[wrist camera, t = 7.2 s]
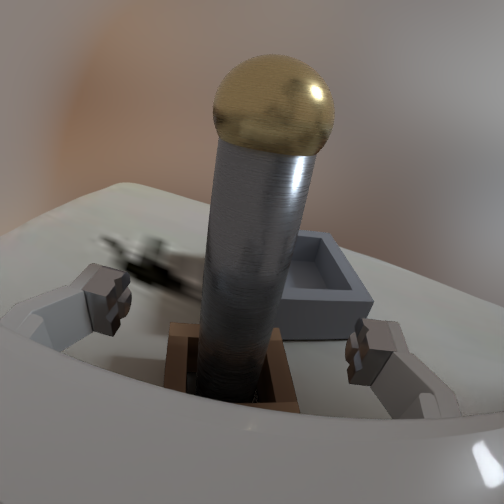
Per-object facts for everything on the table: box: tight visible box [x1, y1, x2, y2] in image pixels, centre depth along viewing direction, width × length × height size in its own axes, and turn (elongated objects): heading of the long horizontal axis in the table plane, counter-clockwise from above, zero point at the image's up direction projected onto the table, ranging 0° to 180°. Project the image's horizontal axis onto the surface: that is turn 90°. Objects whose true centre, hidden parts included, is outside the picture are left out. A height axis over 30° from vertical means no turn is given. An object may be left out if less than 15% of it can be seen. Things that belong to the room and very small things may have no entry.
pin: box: [196, 54, 335, 403], centre depth 12 cm, size 4×4×16 cm
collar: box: [163, 322, 300, 414], centre depth 15 cm, size 6×6×3 cm
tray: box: [273, 230, 374, 339], centre depth 24 cm, size 10×10×4 cm
